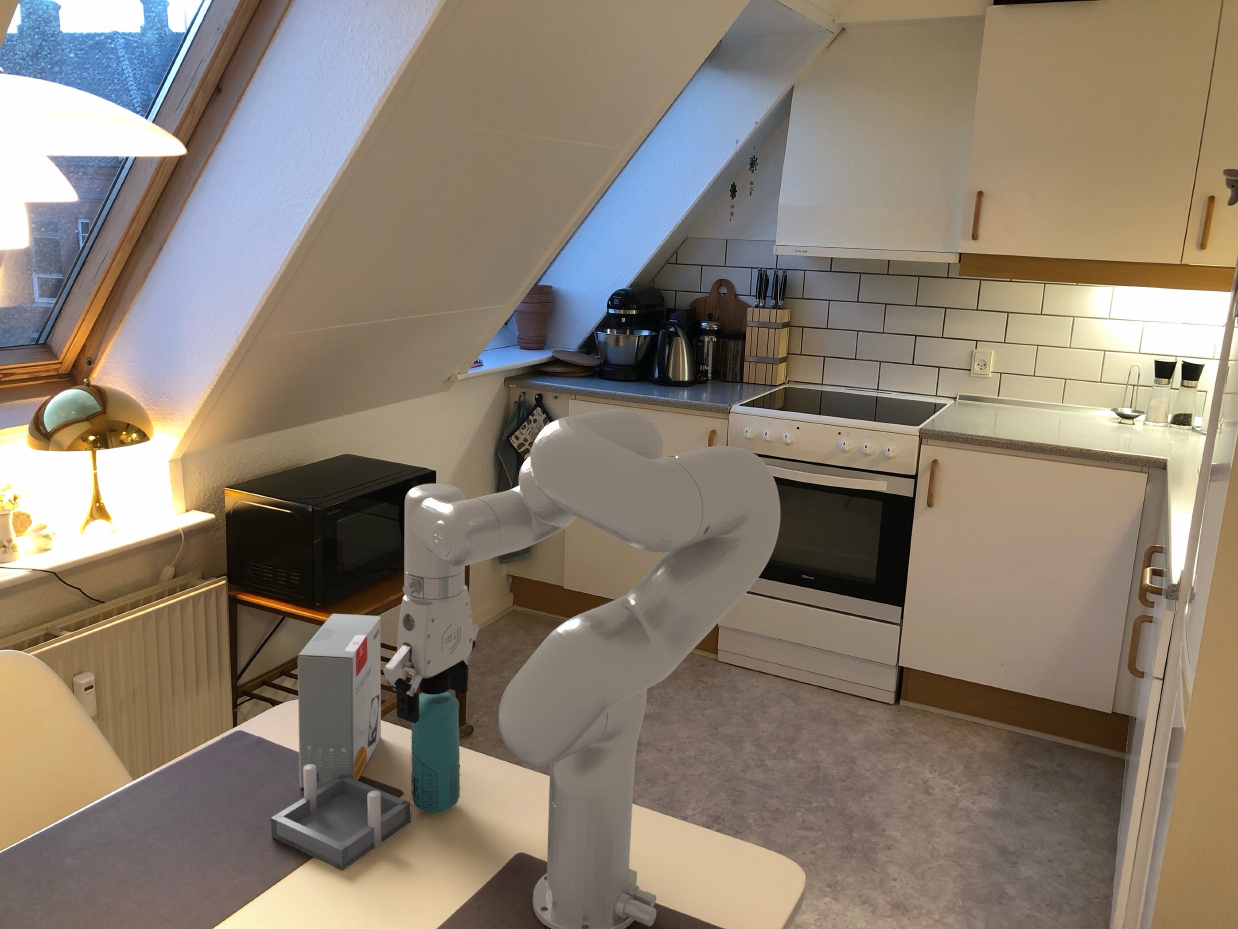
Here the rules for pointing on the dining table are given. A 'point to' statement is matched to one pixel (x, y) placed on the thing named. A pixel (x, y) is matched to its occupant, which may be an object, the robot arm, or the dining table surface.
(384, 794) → the tray
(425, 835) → the dining table surface
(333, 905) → the dining table surface
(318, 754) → the hard drive box
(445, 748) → the beverage bottle
